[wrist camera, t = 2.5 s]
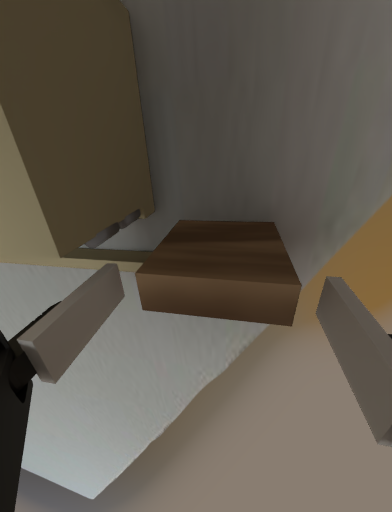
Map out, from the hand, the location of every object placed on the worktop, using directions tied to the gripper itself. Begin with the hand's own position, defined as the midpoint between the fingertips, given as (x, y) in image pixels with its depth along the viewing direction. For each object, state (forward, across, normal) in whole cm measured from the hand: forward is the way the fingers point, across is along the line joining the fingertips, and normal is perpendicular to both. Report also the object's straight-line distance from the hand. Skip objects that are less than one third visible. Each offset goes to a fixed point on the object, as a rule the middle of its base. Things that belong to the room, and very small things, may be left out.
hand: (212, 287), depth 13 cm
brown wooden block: (+8, 0, 0) cm, 8 cm away
